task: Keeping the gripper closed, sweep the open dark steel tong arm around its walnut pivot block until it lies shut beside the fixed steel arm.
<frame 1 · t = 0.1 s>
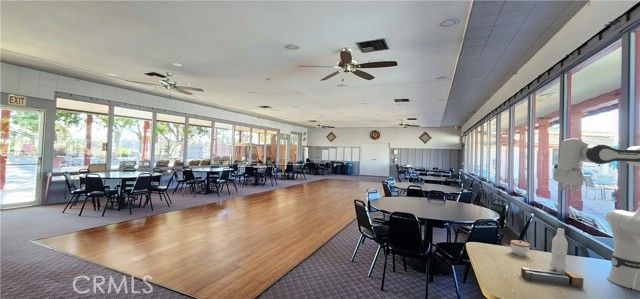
hand: (567, 191, 161), 48 cm above the table, tool pointing down, fingers open, 8 cm apart
water bottle: (557, 271, 168), on the table
tong base: (565, 281, 154), on the table
lidded jar: (519, 254, 192), on the table
tong arm: (543, 274, 157), point 2 cm above the table, hinge at -0.5°, touching tong base
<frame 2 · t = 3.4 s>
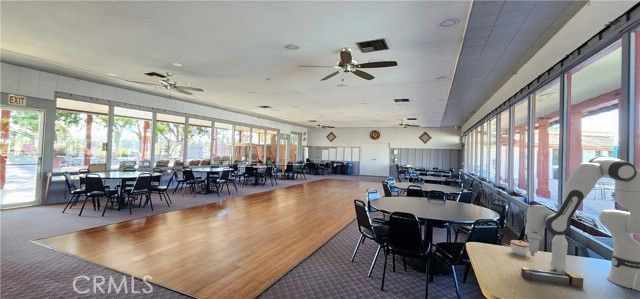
hand: (532, 255, 168), 8 cm above the table, tool pointing down, fingers closed
nothing on the table moved.
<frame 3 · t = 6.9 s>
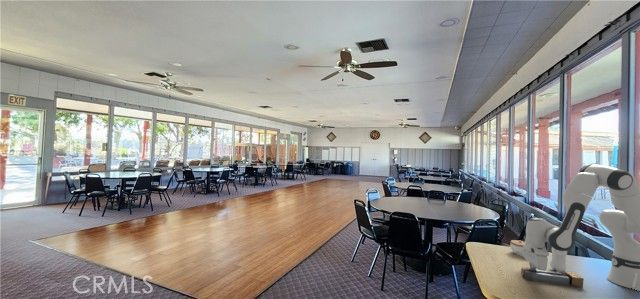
hand: (532, 271, 160), 3 cm above the table, tool pointing down, fingers closed
tong arm: (544, 274, 156), point 2 cm above the table, hinge at 0.1°, touching gripper, tong base
everything else where it was.
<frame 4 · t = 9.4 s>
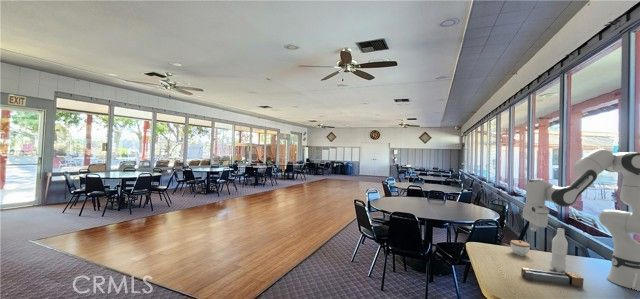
hand: (533, 230, 164), 24 cm above the table, tool pointing down, fingers closed
tong arm: (544, 274, 156), point 2 cm above the table, hinge at 0.5°, touching tong base
everything else where it was.
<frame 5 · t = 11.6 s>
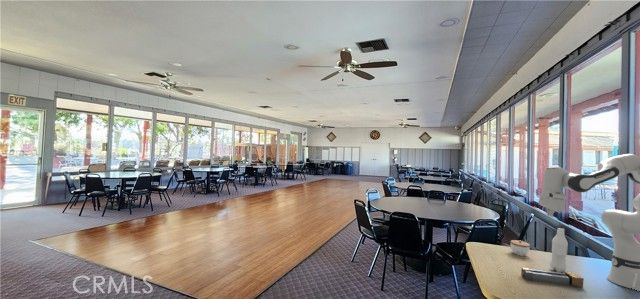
hand: (550, 216, 172), 31 cm above the table, tool pointing down, fingers closed
nothing on the table moved.
at the end: tong arm at +0° (first picture: -1°); water bottle moved 0.2 cm from its start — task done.
